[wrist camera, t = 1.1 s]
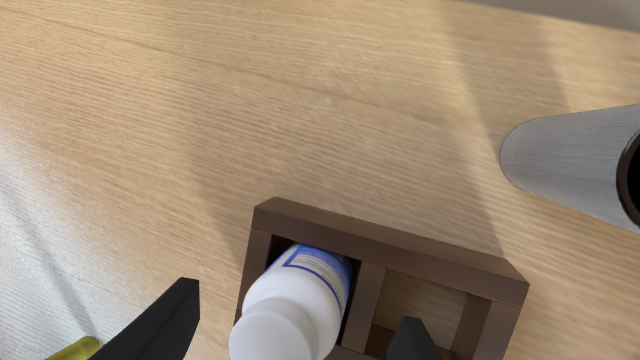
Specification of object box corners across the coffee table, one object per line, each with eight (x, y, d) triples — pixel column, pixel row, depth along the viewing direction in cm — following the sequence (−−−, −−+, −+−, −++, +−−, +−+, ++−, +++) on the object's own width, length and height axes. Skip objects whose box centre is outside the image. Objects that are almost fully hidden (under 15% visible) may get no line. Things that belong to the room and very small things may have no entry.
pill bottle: (303, 311, 23) (244, 425, 14) (272, 248, 23) (193, 321, 14) (367, 288, 22) (349, 398, 13) (335, 221, 22) (293, 282, 13)
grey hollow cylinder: (483, 145, 19) (585, 152, 9) (556, 102, 18) (762, 56, 8) (523, 205, 19) (669, 278, 9) (599, 166, 18) (864, 200, 8)
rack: (466, 375, 21) (480, 420, 18) (254, 301, 24) (232, 327, 21) (506, 259, 20) (530, 284, 16) (274, 196, 23) (254, 205, 19)
